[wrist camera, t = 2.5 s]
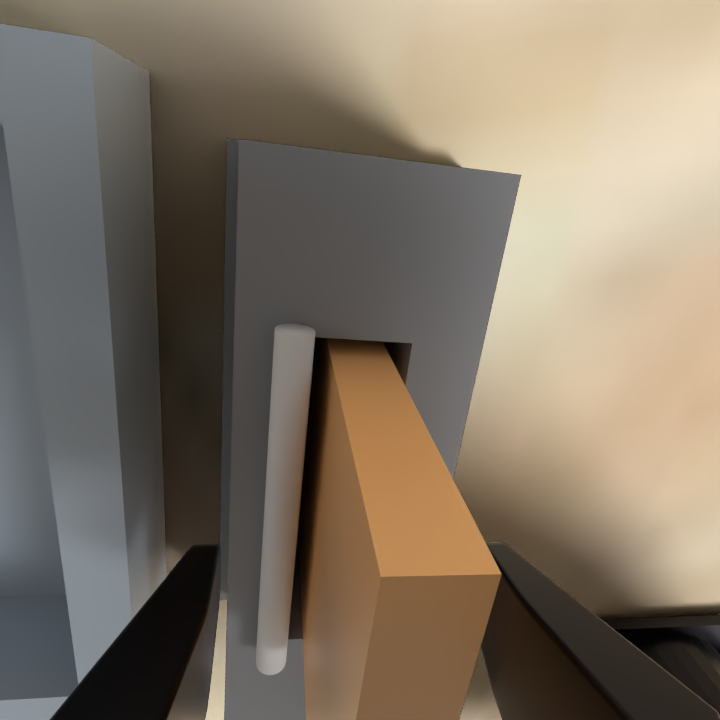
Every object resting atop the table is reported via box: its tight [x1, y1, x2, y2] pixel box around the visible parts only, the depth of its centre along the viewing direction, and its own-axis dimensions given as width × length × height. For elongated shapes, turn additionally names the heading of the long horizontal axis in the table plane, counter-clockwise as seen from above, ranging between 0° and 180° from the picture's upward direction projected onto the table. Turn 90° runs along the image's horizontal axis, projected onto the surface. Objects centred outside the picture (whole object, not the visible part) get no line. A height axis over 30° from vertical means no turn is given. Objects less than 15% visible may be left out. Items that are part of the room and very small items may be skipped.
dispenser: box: [220, 138, 521, 720], centre depth 11 cm, size 5×12×5 cm, turn 174°
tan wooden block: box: [298, 337, 502, 720], centre depth 9 cm, size 1×6×8 cm, turn 174°
